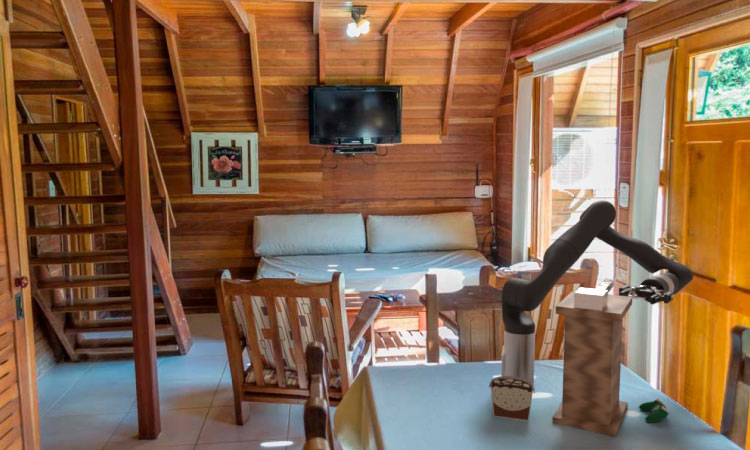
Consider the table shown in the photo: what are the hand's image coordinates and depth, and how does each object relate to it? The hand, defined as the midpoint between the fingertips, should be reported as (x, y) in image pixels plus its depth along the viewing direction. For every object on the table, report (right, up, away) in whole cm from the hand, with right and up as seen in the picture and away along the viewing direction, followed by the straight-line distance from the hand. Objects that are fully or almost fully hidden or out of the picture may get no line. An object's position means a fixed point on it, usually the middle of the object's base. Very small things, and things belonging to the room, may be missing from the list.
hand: (636, 298), depth 176 cm
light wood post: (-13, +1, -7) cm, 15 cm away
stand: (-16, -31, -8) cm, 36 cm away
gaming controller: (+1, -31, -9) cm, 33 cm away
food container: (-37, -31, -7) cm, 49 cm away
